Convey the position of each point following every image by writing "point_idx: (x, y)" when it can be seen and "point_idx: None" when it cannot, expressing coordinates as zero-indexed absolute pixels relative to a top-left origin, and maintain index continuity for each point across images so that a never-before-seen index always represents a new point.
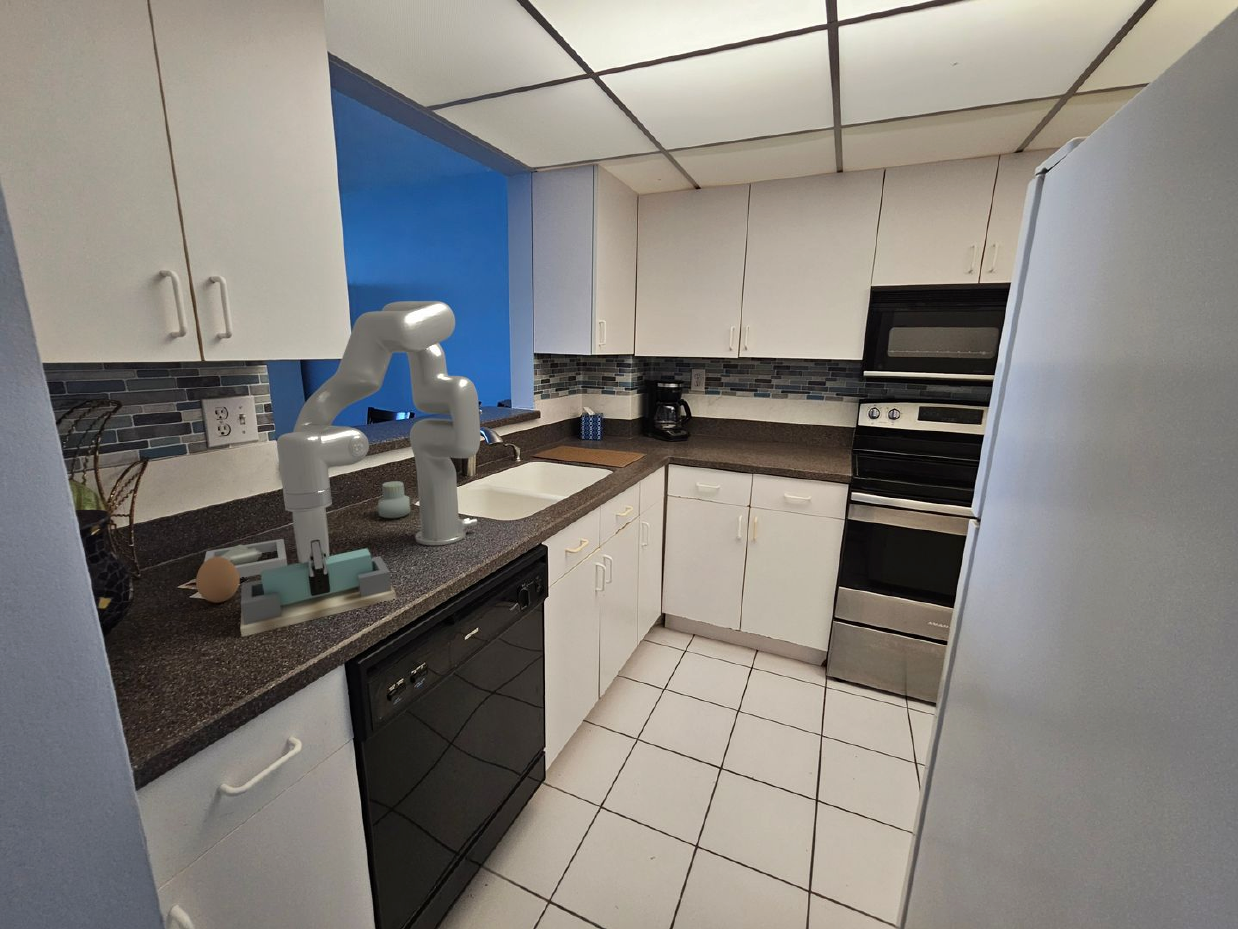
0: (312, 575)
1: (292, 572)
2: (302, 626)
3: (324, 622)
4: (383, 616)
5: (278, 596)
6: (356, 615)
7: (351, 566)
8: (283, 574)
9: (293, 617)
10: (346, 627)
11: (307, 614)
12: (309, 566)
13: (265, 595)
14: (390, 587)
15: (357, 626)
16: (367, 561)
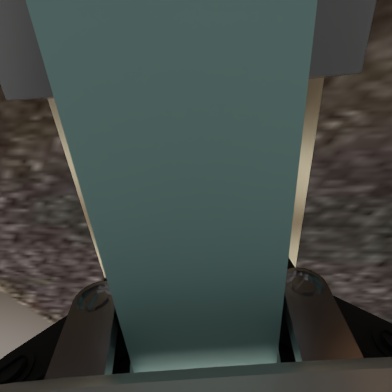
0: (79, 304)
1: (96, 227)
2: (52, 157)
3: (61, 212)
4: (54, 318)
5: (9, 97)
6: (79, 276)
7: None
8: (75, 159)
9: (62, 139)
10: (15, 256)
11: (76, 181)
12: (53, 363)
13: None
14: None
15: (15, 276)
16: None
